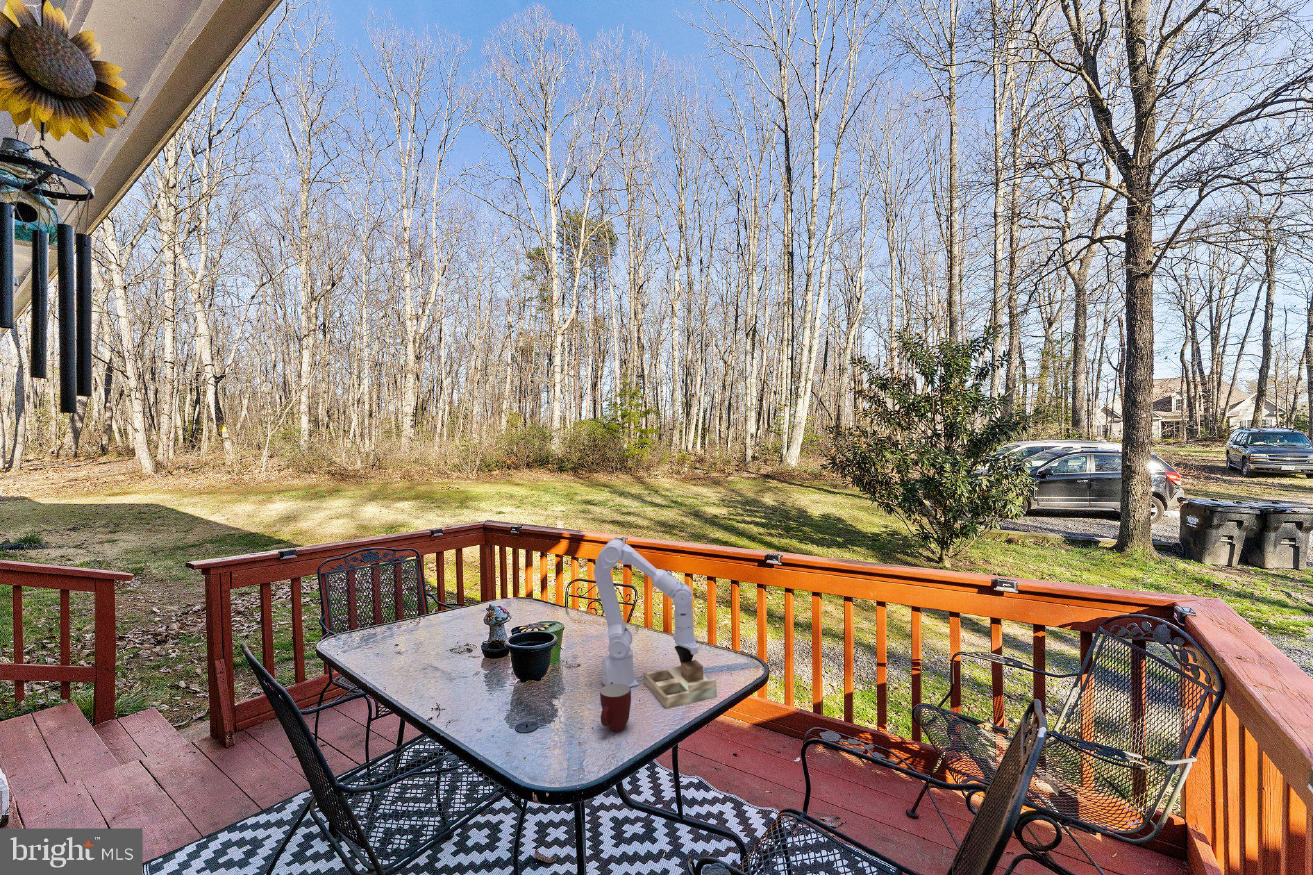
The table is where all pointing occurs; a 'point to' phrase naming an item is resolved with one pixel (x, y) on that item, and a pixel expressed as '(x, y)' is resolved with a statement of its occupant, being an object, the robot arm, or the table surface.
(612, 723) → the mug
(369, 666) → the table surface
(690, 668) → the walnut block
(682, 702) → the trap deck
